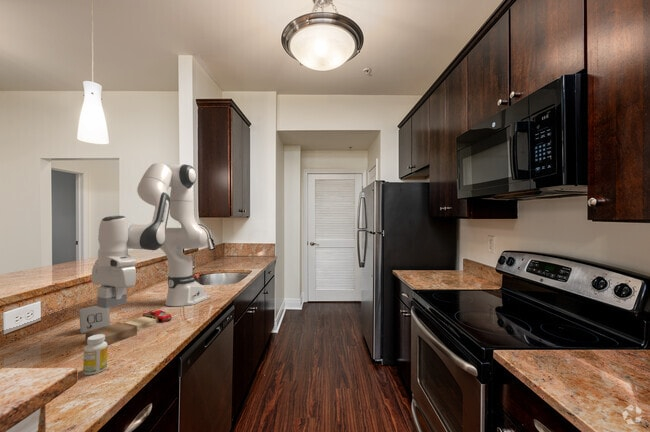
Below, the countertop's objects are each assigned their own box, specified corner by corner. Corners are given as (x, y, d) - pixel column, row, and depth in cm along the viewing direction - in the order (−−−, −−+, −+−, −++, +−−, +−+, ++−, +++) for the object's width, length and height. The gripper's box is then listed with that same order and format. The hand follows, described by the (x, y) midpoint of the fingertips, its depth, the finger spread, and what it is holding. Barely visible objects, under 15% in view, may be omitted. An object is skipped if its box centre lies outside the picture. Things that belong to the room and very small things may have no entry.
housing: (97, 306, 103) (97, 287, 103) (117, 301, 109) (118, 283, 109) (105, 308, 101) (106, 288, 101) (126, 303, 107) (126, 284, 107)
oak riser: (143, 321, 122) (143, 316, 122) (156, 324, 119) (156, 319, 119) (123, 327, 115) (124, 322, 115) (137, 330, 112) (137, 325, 112)
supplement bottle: (85, 377, 79) (86, 342, 79) (81, 370, 82) (81, 337, 82) (109, 369, 83) (110, 336, 83) (104, 363, 86) (105, 331, 86)
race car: (174, 319, 125) (174, 310, 125) (163, 324, 120) (164, 314, 120) (151, 316, 129) (151, 307, 129) (140, 320, 124) (140, 310, 124)
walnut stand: (118, 330, 112) (118, 322, 112) (136, 334, 108) (136, 326, 108) (85, 340, 102) (85, 332, 102) (104, 346, 98) (104, 337, 98)
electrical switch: (80, 334, 108) (80, 309, 108) (77, 332, 111) (77, 308, 111) (110, 327, 115) (110, 304, 116) (106, 325, 118) (106, 302, 119)
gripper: (86, 259, 107) (85, 296, 106) (121, 262, 99) (120, 303, 98) (105, 257, 112) (104, 292, 112) (139, 260, 104) (139, 298, 104)
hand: (112, 297), depth 105 cm, fingers closed on housing, 5 cm apart
